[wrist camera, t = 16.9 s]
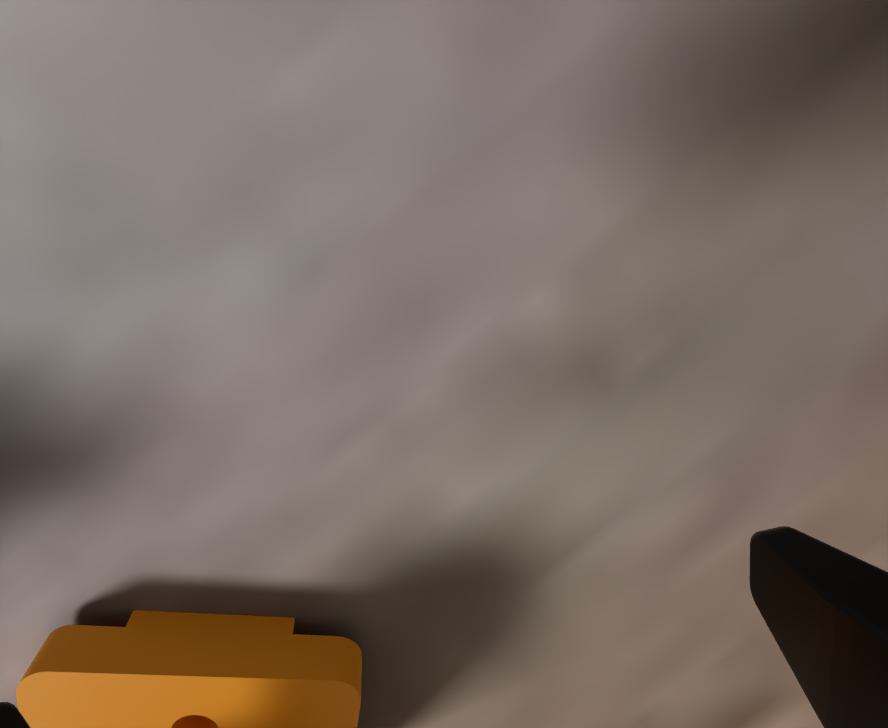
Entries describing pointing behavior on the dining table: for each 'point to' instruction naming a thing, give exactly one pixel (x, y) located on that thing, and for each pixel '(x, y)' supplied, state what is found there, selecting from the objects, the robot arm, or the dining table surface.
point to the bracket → (192, 675)
